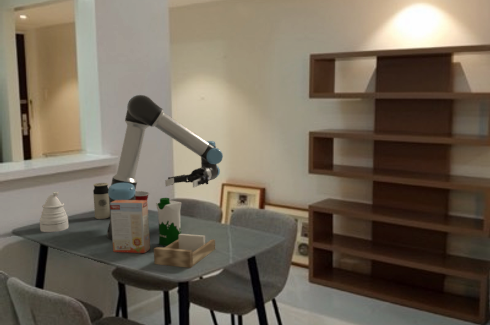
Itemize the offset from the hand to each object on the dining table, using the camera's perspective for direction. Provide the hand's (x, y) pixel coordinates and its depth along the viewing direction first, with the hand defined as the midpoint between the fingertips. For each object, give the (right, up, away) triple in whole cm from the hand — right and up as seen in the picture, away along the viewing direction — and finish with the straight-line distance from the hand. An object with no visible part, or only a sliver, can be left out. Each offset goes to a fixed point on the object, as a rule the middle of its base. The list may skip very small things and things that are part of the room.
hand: (179, 183), depth 218 cm
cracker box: (-18, -27, -15) cm, 36 cm away
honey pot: (-64, -23, +24) cm, 72 cm away
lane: (+6, -27, -23) cm, 36 cm away
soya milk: (-3, -26, -6) cm, 26 cm away
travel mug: (-46, -20, +44) cm, 67 cm away
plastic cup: (-28, -19, +49) cm, 59 cm away
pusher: (+8, -26, -19) cm, 33 cm away
